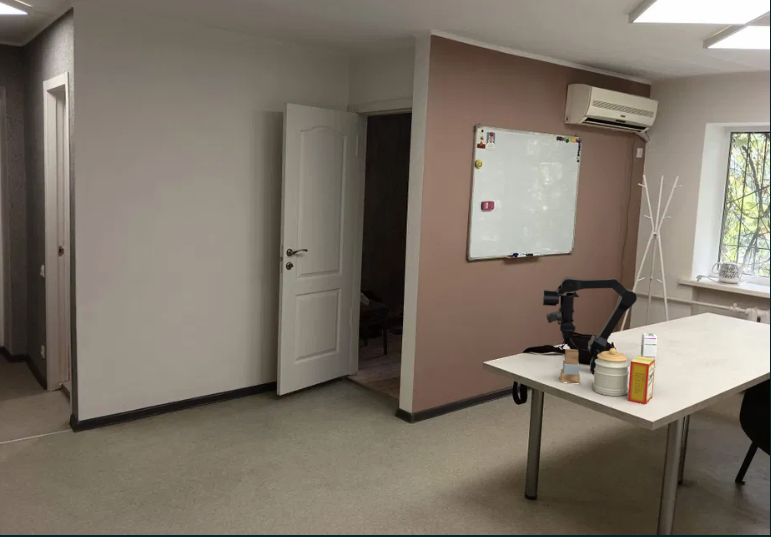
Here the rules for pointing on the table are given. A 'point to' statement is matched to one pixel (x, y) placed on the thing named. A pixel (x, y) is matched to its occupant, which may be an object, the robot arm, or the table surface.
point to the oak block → (569, 378)
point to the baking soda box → (641, 379)
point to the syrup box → (649, 345)
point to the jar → (611, 373)
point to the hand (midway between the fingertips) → (564, 341)
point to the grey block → (570, 368)
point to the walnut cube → (571, 356)
